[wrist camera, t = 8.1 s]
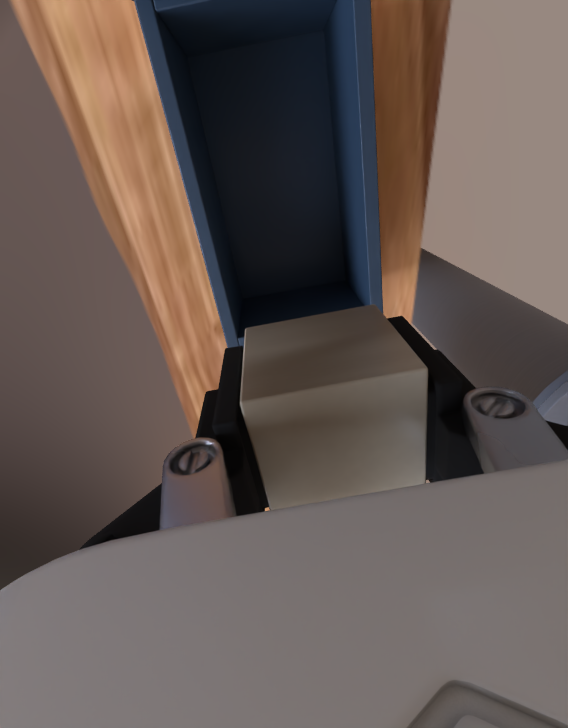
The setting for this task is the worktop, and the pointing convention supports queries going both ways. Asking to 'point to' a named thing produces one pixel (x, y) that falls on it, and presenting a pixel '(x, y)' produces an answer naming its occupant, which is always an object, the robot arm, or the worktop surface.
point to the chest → (274, 150)
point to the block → (334, 406)
